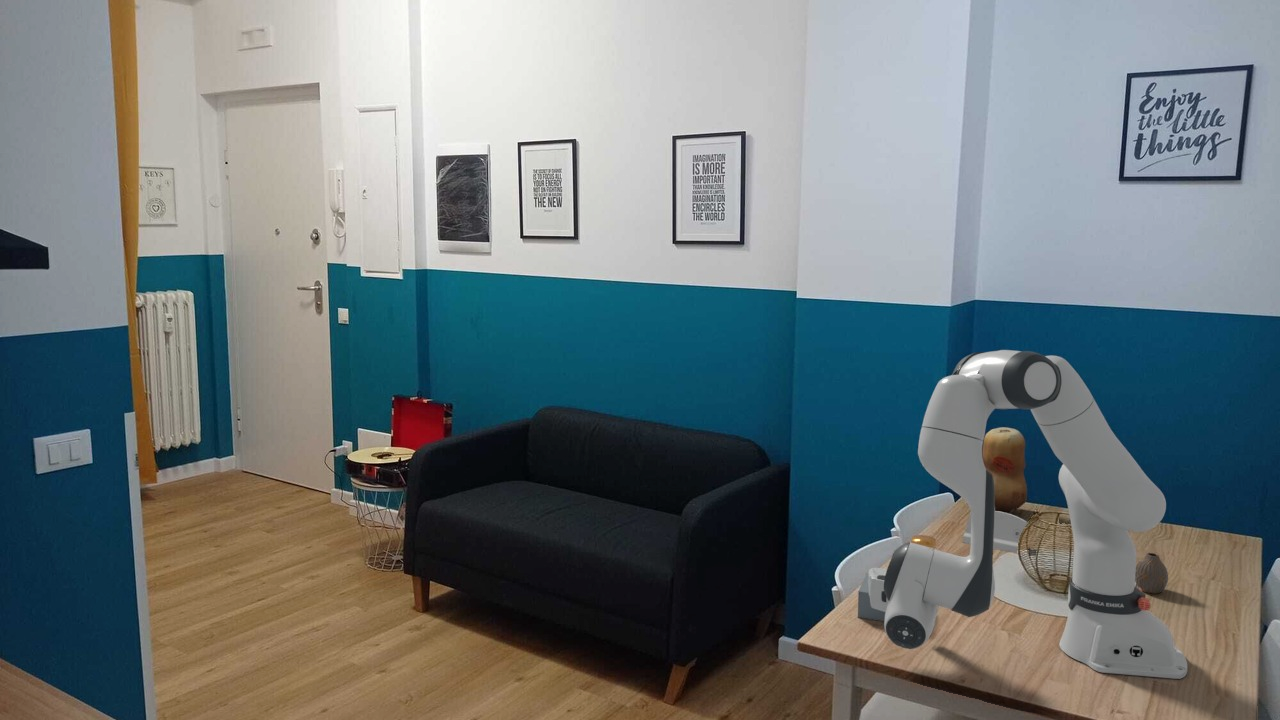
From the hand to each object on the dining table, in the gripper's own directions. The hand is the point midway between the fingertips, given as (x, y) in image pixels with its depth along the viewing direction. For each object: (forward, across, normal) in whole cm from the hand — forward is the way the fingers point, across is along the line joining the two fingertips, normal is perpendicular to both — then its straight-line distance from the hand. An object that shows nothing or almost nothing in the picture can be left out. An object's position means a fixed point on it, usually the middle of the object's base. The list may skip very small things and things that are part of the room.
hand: (923, 572), depth 189 cm
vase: (+44, -46, +16) cm, 66 cm away
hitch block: (+10, +9, +14) cm, 19 cm away
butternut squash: (+93, -12, +15) cm, 95 cm away
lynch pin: (-1, 0, +9) cm, 9 cm away
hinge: (+63, -12, +15) cm, 66 cm away
